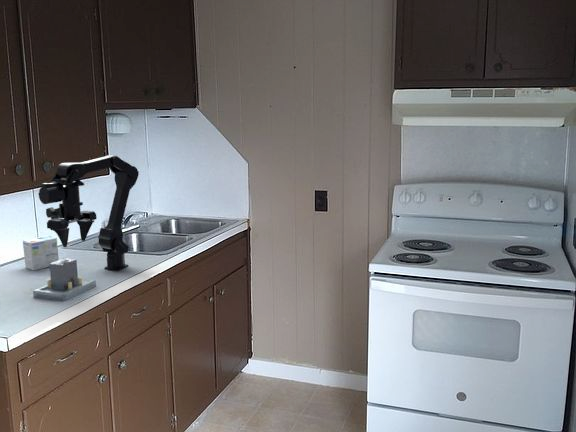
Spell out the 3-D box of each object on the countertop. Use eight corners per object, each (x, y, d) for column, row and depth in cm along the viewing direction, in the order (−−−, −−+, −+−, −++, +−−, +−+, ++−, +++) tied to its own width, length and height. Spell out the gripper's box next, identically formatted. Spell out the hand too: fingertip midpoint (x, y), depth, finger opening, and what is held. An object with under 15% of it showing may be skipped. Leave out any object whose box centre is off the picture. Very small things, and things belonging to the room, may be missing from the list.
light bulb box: (50, 261, 229) (48, 234, 226) (60, 264, 224) (57, 237, 222) (24, 267, 221) (21, 239, 218) (33, 270, 216) (30, 242, 214)
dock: (66, 282, 203) (65, 270, 202) (95, 285, 199) (95, 273, 198) (33, 296, 188) (32, 284, 187) (64, 301, 184) (63, 288, 184)
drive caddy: (66, 283, 198) (64, 257, 196) (79, 285, 196) (77, 259, 194) (51, 290, 191) (49, 263, 189) (64, 291, 189) (62, 265, 188)
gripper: (70, 194, 212) (74, 236, 215) (32, 202, 194) (36, 248, 198) (96, 196, 208) (98, 238, 211) (58, 205, 191) (62, 251, 194)
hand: (74, 243), depth 203 cm, fingers open, 9 cm apart
